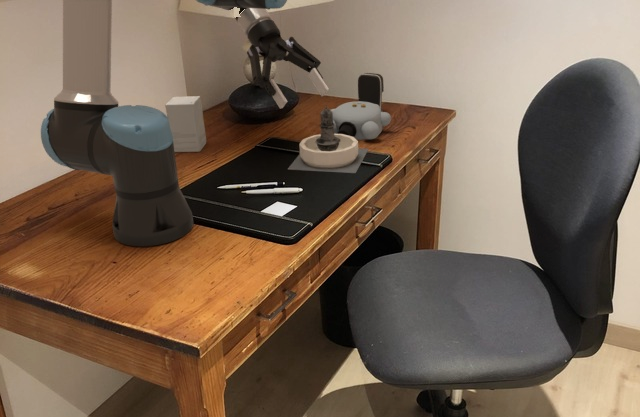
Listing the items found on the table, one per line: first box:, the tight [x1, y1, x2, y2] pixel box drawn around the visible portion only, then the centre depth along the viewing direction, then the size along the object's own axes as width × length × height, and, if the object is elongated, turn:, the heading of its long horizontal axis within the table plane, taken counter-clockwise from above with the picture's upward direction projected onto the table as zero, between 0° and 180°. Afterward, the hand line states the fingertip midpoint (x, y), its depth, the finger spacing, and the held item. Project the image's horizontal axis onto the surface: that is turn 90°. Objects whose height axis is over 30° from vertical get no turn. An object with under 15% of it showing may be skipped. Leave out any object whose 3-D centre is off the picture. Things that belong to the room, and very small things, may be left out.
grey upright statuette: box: [315, 105, 340, 151], centre depth 156 cm, size 6×6×12 cm
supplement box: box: [164, 95, 207, 153], centre depth 170 cm, size 7×7×13 cm
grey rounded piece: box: [330, 100, 392, 141], centre depth 174 cm, size 17×8×20 cm
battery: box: [357, 72, 384, 112], centre depth 190 cm, size 7×4×11 cm, turn 61°
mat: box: [287, 147, 369, 174], centre depth 159 cm, size 16×16×1 cm
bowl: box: [298, 133, 359, 168], centre depth 158 cm, size 13×13×4 cm
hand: (305, 98), depth 159 cm, fingers open, 13 cm apart
